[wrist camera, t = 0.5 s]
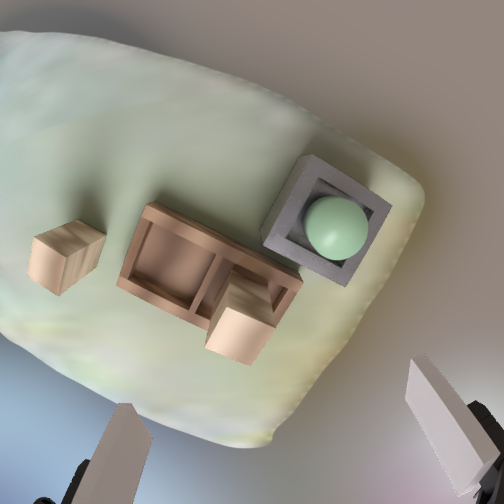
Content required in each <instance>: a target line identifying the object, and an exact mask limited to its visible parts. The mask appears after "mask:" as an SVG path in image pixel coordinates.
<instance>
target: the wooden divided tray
mask: <svg viewBox="0 0 504 504" xmlns="http://www.w3.org/2000/svg"><path fill="white" fill-rule="evenodd" d="M231 269H232V270H234V271H236V272H238V273H240V274H242V275H244V276H247V277H249V278H251V279H253V280H255V281H257V282H259V283H261V284H263V285H265V286H268V288H269V294H270V299H271V304H272V309H273V315H274V320H275V326H277V324H278V323H279V321H280V320H281V318H282V316H283V315H284V313H285V312H286V310H287V309H288V307H289V305H290V304H291V302H292V301H293V299H294V297H295V296H296V294H297V292H298V291H299V289H300V288H301V286H302V284H303V283H304V282H303V280H302V278H301V276H300V274H299V273H298V272H296V271H294V270H292V269H290V268H288V267H286V266H284V265H282V264H280V263H278V262H276V261H274V260H272V259H270V258H268V257H266V256H264V255H262V254H260V253H258V252H256V251H254V250H252V249H250V248H248V247H246V246H244V245H242V244H240V243H238V242H236V241H234V240H232V239H230V238H228V237H226V236H224V235H222V234H220V233H218V232H216V231H214V230H212V229H210V228H208V227H206V226H204V225H202V224H200V223H198V222H196V221H194V220H192V219H190V218H187V217H185V216H183V215H181V214H179V213H177V212H175V211H173V210H171V209H169V208H167V207H165V206H163V205H161V204H159V203H157V202H155V201H154V202H151V203H149V204H146V206H145V208H144V211H143V213H142V216H141V218H140V221H139V223H138V226H137V228H136V231H135V233H134V236H133V239H132V241H131V244H130V247H129V249H128V252H127V255H126V258H125V260H124V263H123V266H122V269H121V272H120V275H119V278H118V281H117V284H116V286H118V287H120V288H122V289H124V290H125V291H127V292H129V293H131V294H133V295H135V296H137V297H139V298H141V299H143V300H145V301H146V302H148V303H150V304H152V305H154V306H156V307H158V308H160V309H162V310H164V311H166V312H168V313H171V314H173V315H175V316H177V317H179V318H181V319H183V320H185V321H187V322H189V323H192V324H194V325H196V326H198V327H200V328H202V329H205V330H207V331H208V328H209V323H210V319H211V314H212V310H213V305H214V302H215V300H216V298H217V296H218V294H219V292H220V290H221V288H222V286H223V285H224V283H225V281H226V279H227V277H228V275H229V273H230V271H231Z"/></svg>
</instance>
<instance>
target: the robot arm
mask: <svg viewBox="0 0 504 504" xmlns="http://www.w3.org/2000/svg"><path fill="white" fill-rule="evenodd" d="M405 400H406V401H407V403H408V405H409V407H410V408H411V410H412V412H413V413H414V415H415V417H416V419H417V420H418V422H419V424H420V426H421V428H422V429H423V431H424V433H425V435H426V437H427V438H428V440H429V442H430V444H431V446H432V448H433V449H434V451H435V453H436V455H437V457H438V459H439V461H440V463H441V465H442V466H443V468H444V470H445V472H446V474H447V476H448V478H449V480H450V482H451V484H452V486H453V488H454V490H455V492H456V494H457V496H458V498H459V497H461V496H462V495H464V494H466V493H468V492H469V491H471V490H473V489H474V488H475V486H477V484H478V483H480V485H481V488H480V489H479V491H478V492H477V493H476V494H475V496H474V497H473V498H476V497H477V496H478V498H477V502H476V504H504V430H503V428H502V427H501V426H500V424H499V423H498V422H496V419H495V418H494V417H493V415H491V413H490V412H489V410H488V409H487V408H486V406H485V405H483V404H481V403H479V402H478V401H476V400H475V401H474V402H472V403H470V404H468V405H466V404H465V403H464V402H463V400H462V399H461V398H460V397H459V395H458V394H457V392H456V391H455V390H454V389H453V387H452V386H451V385H450V383H448V381H447V380H446V379H445V377H444V376H443V375H442V373H441V372H440V371H439V370H438V368H437V367H436V366H435V365H434V364H433V362H432V361H431V360H430V359H429V357H428V356H427V355H426V354H425V353H424V354H421V355H418V356H416V357H412V358H411V362H410V370H409V377H408V384H407V390H406V396H405ZM152 440H153V437H152V436H151V434H150V433H149V431H148V430H147V428H146V427H145V425H144V423H143V422H142V420H141V419H140V417H139V415H138V414H137V412H136V410H135V409H134V407H133V405H132V404H131V403H118V405H117V407H116V409H115V411H114V413H113V415H112V417H111V419H110V421H109V423H108V425H107V428H106V429H105V431H104V433H103V435H102V437H101V440H100V442H99V444H98V446H97V448H96V450H95V452H94V454H93V456H92V458H91V460H87V459H85V460H84V461H83V462H82V463H81V464H80V465H79V466H78V468H77V470H76V472H75V476H74V477H73V479H72V483H70V485H69V487H68V489H67V491H66V494H65V496H64V498H63V500H62V502H61V504H133V501H134V498H135V494H136V491H137V488H138V485H139V481H140V478H141V475H142V472H143V468H144V465H145V462H146V459H147V456H148V453H149V449H150V447H151V443H152ZM33 504H56V503H55V502H53V501H52V500H51V499H50V498H47V497H41V498H39V499H37V500H36V501H35V502H34V503H33Z"/></svg>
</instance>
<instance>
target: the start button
mask: <svg viewBox="0 0 504 504" xmlns="http://www.w3.org/2000/svg"><path fill="white" fill-rule="evenodd" d="M303 227H304V233H305V235H306V237H307V239H308V241H309V242H310V243H311V244H312V246H313V247H314V248H315V249H316V250H317V251H318V253H320V254H321V255H322V256H324V257H326V258H328V259H331V260H343V259H347V258H349V257H351V256H353V255H354V254H356V253H357V252H358V251H359V250H360V249H361V248H362V246H363V245H364V243H365V241H366V238H367V234H368V221H367V218H366V215H365V213H364V212H363V210H362V209H361V208H360V207H359V206H358V205H357V204H356V203H354V202H352V201H350V200H347V199H344V198H341V197H337V196H325V197H322V198H319V199H317V200H316V201H315V202H313V203H312V204H311V205H310V207H309V208H308V210H307V211H306V214H305V217H304V222H303Z"/></svg>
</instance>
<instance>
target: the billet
mask: <svg viewBox="0 0 504 504" xmlns="http://www.w3.org/2000/svg"><path fill="white" fill-rule="evenodd" d="M105 238H106V235H105V234H103V233H101V232H99V231H97V230H96V229H94V228H92V227H90V226H88V225H87V224H85V223H83V222H81V221H79V220H75V221H73V222H70V223H67V224H65V225H62V226H59V227H57V228H54V229H52V230H49V231H47V232H44V233H42V234H39V235H37V236H34V238H33V243H32V249H31V254H30V260H29V267H28V274H27V275H28V276H29V277H30V278H32V279H33V280H35V281H36V282H37V283H39V284H40V285H42V286H43V287H45V288H46V289H48V290H49V291H51V292H52V293H54V294H55V295H57V296H60V295H61V294H62V293H63V292H65V291H66V290H67V289H68V288H70V287H71V286H72V285H74V284H75V283H76V282H77V281H79V280H80V279H81V278H83V277H84V276H85V275H87V274H88V273H89V272H91V271H92V270H93V269H95V268H96V266H97V263H98V260H99V256H100V253H101V250H102V247H103V244H104V241H105Z"/></svg>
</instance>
